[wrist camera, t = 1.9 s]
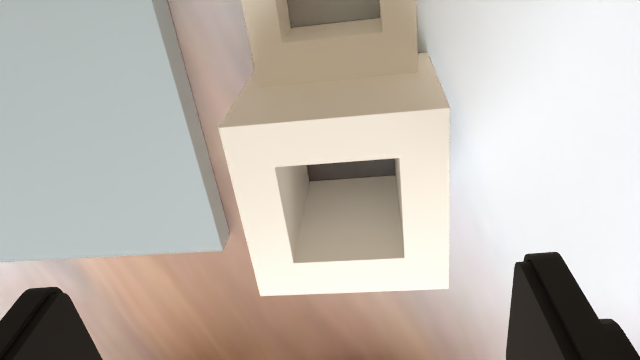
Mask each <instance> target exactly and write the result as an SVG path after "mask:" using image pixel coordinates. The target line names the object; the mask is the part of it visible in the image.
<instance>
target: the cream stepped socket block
mask: <svg viewBox="0 0 640 360" xmlns="http://www.w3.org/2000/svg"><path fill="white" fill-rule="evenodd" d="M379 2H380V18H374V19H365V20H356V21H347V22H338V23H329V24H320V25H311V26H303V27H294V28H291V25H290V19H289V12H288V6H287V0H241V4H242V9H243V14H244V19H245V24H246V29H247V34H248V39H249V44H250V50H251V55H252V60H253V65H254V70H255V71H254V72H253V74H252V75H251V77H250V79H249V80H248V82H247V83H246V85H245V86H244V88H243V90H242V91H241V93H240V94H239V96H238V98H237V99H236V101H235V102H234V104H233V105H232V107H231V109H230V110H229V112H228V113H227V115H226V117H225V118H224V120H223V121H222V123H221V124H220V126H219V128H218V129H219V133H220V137H221V141H222V145H223V149H224V153H225V157H226V161H227V165H228V169H229V173H230V177H231V181H232V185H233V189H234V193H235V197H236V201H237V205H238V209H239V213H240V217H241V221H242V225H243V228H244V232H245V236H246V240H247V244H248V248H249V252H250V256H251V260H252V264H253V268H254V272H255V276H256V280H257V284H258V288H259V292H260V296H275V295H301V294H327V293H353V292H379V291H405V290H431V289H449V188H450V106H449V104H448V102H447V99H446V97H445V94H444V92H443V89H442V87H441V84H440V82H439V79H438V77H437V74H436V72H435V69H434V67H433V64H432V62H431V59H430V57H429V54H428V52H425V53H418V46H417V8H416V0H379ZM393 158H395V176H380V177H366V178H351V179H337V180H323V181H309V176H308V170H307V165H312V164H325V163H339V162H352V161H366V160H379V159H393Z"/></svg>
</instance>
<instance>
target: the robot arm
mask: <svg viewBox="0 0 640 360" xmlns="http://www.w3.org/2000/svg"><path fill="white" fill-rule="evenodd" d="M0 360H102V358H101V356H100V354H99V352H98V350H97V348H96V346H95V344H94V342H93V340H92V339H91V337H90V335H89V333H88V331H87V329H86V327H85V325H84V323H83V321H82V320H81V318H80V316H79V314H78V312H77V310H76V308H75V306H74V304H73V302H72V301H71V299H70V297H69V296H68V295H67V294H66V293H63V292H62V291H61V289H59V288H58V287H46V288H32V289H28V290H26V291H25V292H24V293H23V294H22V295H21V296H20V297H19V298H18V300H17V301H16V302H15V303H14V305H13V306H12V307H11V308H10V310H9V311H8V312H7V313H6V315H5V316H4V317H3V318H2V320H1V321H0ZM506 360H640V356H639V355H638V353H637V352H636V350H635V349H634V347H633V345H632V344H631V342H630V341H629V339H628V338H627V336H626V334H625V333H624V331H623V330H622V329H621V327H620V326H619V325H618V324H617V323H616V322H615V321H613V320H612V319H598V317H597V315H596V314H595V312H594V310H593V309H592V307H591V305H590V304H589V302H588V300H587V299H586V297H585V295H584V294H583V292H582V290H581V288H580V287H579V285H578V283H577V282H576V280H575V278H574V277H573V275H572V273H571V272H570V270H569V268H568V267H567V265H566V263H565V262H564V260H563V258H562V257H561V255H560V254H559V253H557V252H549V253H534V254H526V255H525V257H524V261H523V262H516V264H515V268H514V278H513V288H512V298H511V308H510V318H509V328H508V338H507V349H506Z"/></svg>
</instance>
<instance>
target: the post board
mask: <svg viewBox="0 0 640 360" xmlns="http://www.w3.org/2000/svg"><path fill="white" fill-rule="evenodd" d="M229 234H230V232H229V228H228V225H227V221H226V217H225V213H224V210H223V206H222V202H221V199H220V195H219V191H218V188H217V184H216V180H215V176H214V173H213V169H212V165H211V162H210V158H209V154H208V150H207V147H206V143H205V139H204V136H203V132H202V128H201V124H200V121H199V117H198V113H197V110H196V106H195V102H194V98H193V95H192V91H191V87H190V84H189V80H188V76H187V72H186V69H185V65H184V61H183V58H182V54H181V50H180V46H179V43H178V39H177V35H176V32H175V28H174V24H173V20H172V17H171V13H170V9H169V6H168V2H167V0H0V262H15V261H34V260H54V259H73V258H92V257H112V256H131V255H150V254H170V253H189V252H208V251H223V249H224V247H225V244H226V242H227V239H228V237H229Z"/></svg>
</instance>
